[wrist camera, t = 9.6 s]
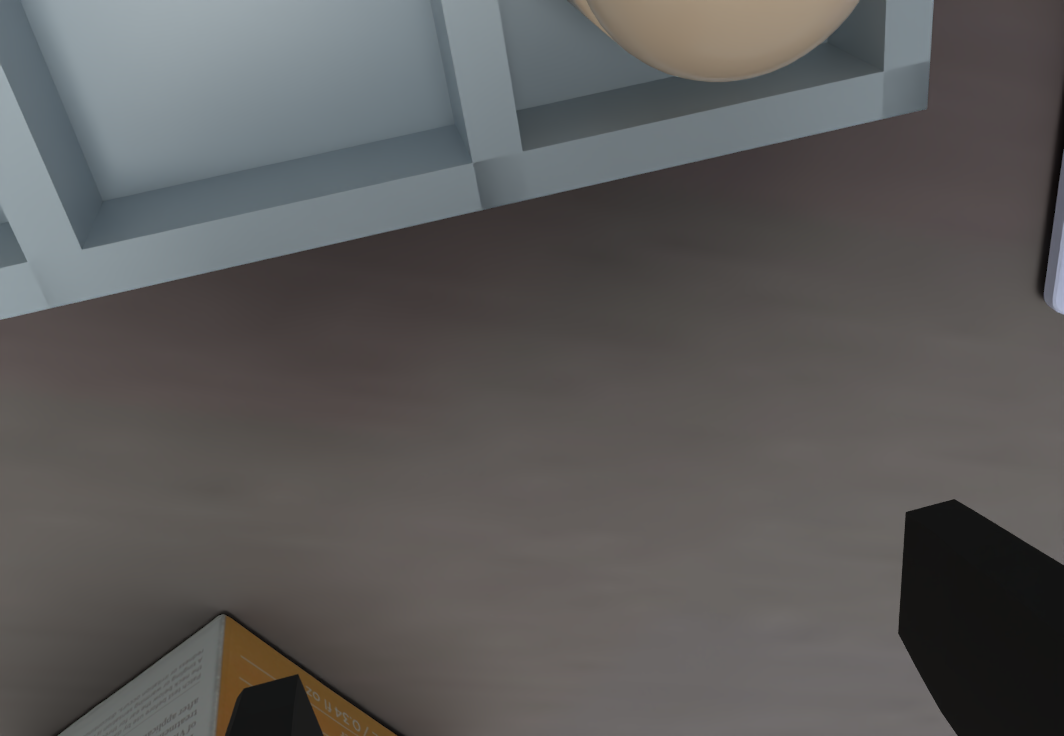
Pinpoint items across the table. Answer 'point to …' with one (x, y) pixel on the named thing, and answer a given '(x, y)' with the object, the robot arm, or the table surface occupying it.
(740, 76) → the brown egg
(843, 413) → the table surface
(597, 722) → the table surface
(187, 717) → the small box
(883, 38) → the egg carton
